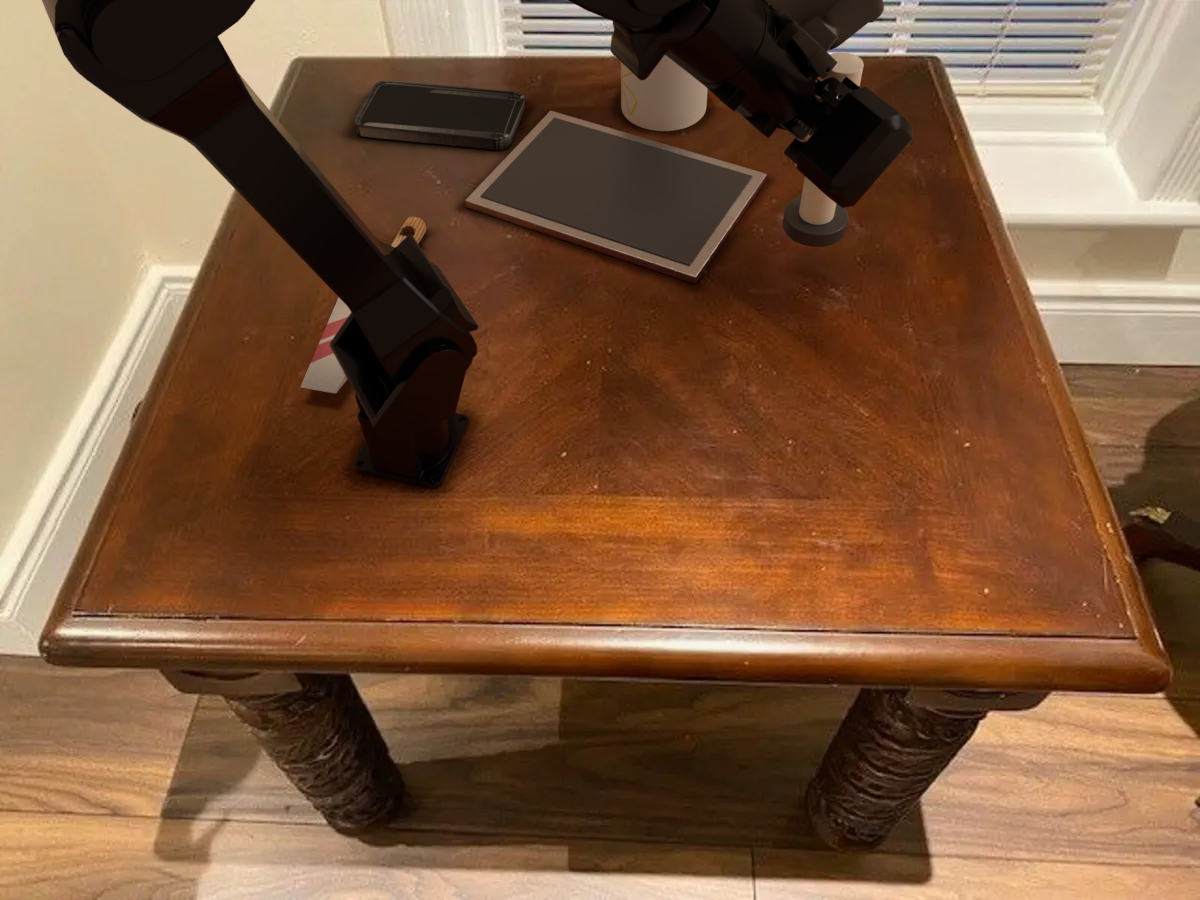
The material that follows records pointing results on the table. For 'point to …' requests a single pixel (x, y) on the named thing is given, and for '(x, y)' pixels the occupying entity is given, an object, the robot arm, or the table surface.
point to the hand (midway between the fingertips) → (843, 141)
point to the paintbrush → (324, 363)
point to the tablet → (619, 194)
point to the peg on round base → (814, 212)
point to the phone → (441, 114)
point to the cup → (663, 97)
